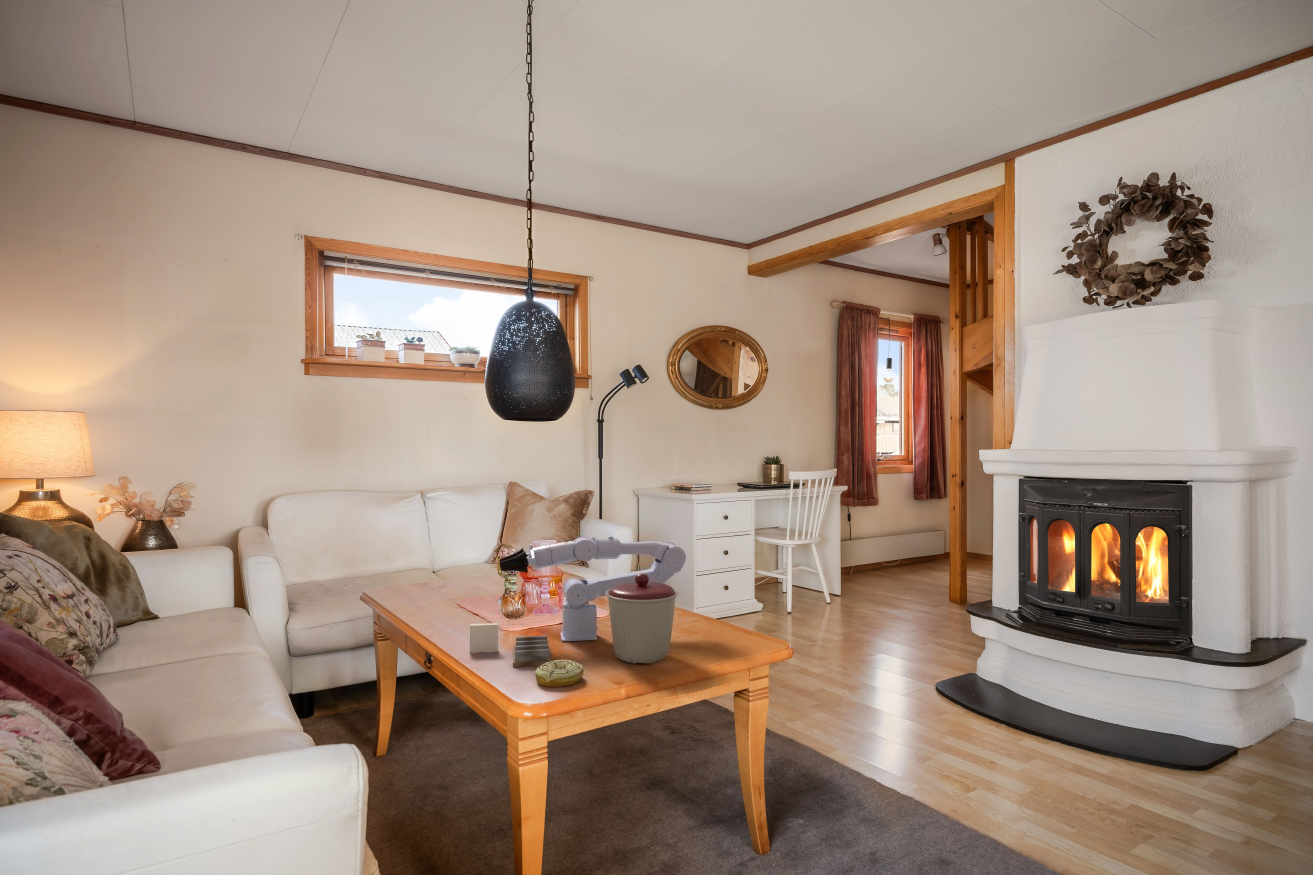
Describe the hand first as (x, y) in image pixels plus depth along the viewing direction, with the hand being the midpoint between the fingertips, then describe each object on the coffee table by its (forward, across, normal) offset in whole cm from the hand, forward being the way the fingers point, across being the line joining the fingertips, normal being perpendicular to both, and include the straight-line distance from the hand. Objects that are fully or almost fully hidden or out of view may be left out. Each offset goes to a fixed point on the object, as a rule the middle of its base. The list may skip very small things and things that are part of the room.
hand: (499, 564), depth 192 cm
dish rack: (-4, +14, +22) cm, 27 cm away
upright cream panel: (+7, +7, +20) cm, 22 cm away
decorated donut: (-9, +32, +25) cm, 42 cm away
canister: (-31, +20, +27) cm, 46 cm away
